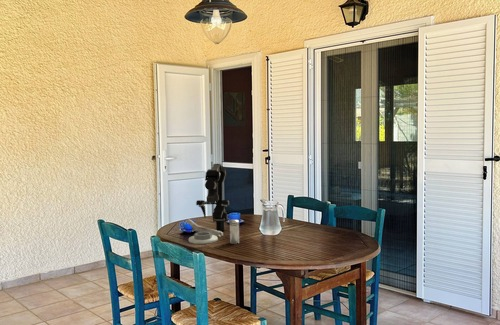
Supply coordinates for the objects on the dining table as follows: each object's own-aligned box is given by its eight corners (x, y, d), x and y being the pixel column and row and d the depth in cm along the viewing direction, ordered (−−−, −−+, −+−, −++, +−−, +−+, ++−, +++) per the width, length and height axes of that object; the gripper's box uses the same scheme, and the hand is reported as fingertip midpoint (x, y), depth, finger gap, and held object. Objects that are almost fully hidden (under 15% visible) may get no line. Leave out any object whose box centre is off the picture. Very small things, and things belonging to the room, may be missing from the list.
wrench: (221, 241, 280) (183, 231, 296) (223, 241, 281) (185, 230, 297) (222, 228, 278) (184, 218, 294) (223, 228, 280) (186, 218, 296)
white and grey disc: (194, 236, 282) (194, 230, 281) (221, 237, 278) (220, 230, 278) (184, 243, 265) (184, 236, 265) (212, 244, 261) (212, 237, 261)
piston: (231, 241, 267) (230, 219, 266) (240, 241, 266) (239, 219, 265) (229, 243, 262) (228, 221, 261) (238, 244, 261) (237, 221, 260)
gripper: (194, 190, 263) (194, 217, 261) (226, 189, 261) (226, 217, 259) (198, 191, 274) (198, 217, 272) (229, 190, 272) (229, 217, 270)
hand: (212, 217), depth 268 cm, fingers open, 9 cm apart
